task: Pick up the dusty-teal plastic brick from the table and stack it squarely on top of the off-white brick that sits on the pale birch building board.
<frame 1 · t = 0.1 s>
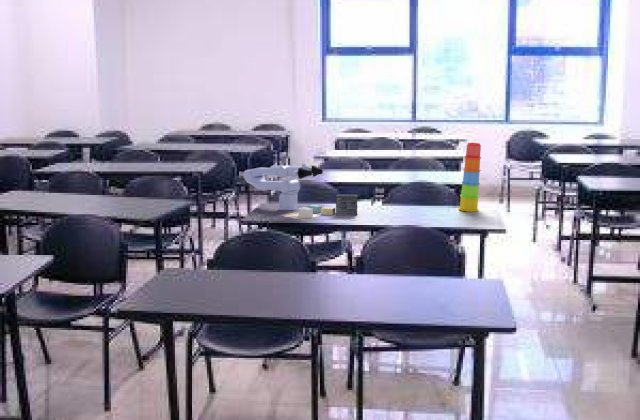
hand: (316, 172, 363), 22 cm above the table, tool horizontal, fingers open, 7 cm apart
small box: (346, 216, 365), on the table
mustard brick: (328, 215, 366), on the table
teal brick: (315, 213, 372), on the table
building board: (301, 217, 362), on the table
white brick: (305, 216, 360), point 1 cm above the table, touching building board
stacking cups: (468, 210, 378), on the table
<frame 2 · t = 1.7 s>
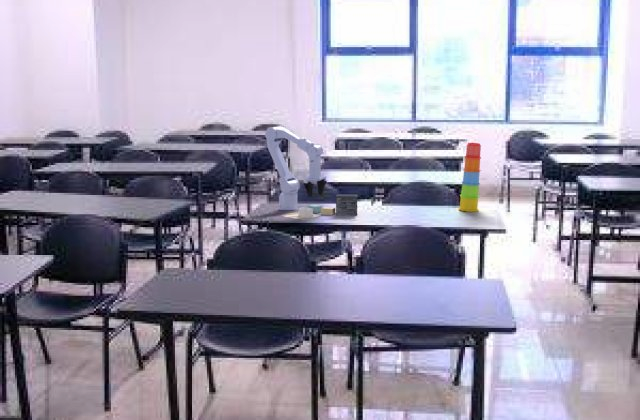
hand: (315, 195, 370), 9 cm above the table, tool pointing down, fingers open, 7 cm apart
nothing on the table moved.
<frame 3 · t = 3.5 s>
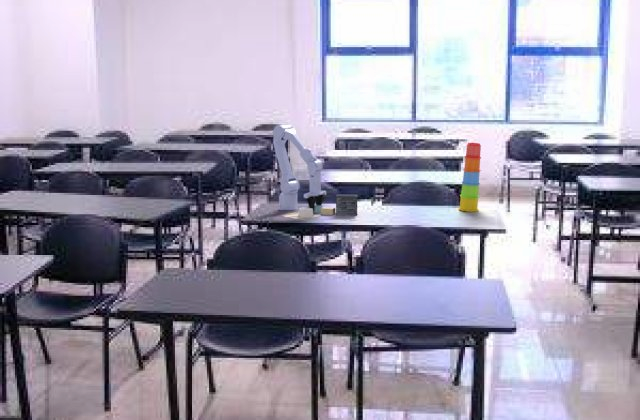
hand: (315, 210, 371), 1 cm above the table, tool pointing down, fingers closed on teal brick, 4 cm apart
teal brick: (315, 213, 372), on the table, touching gripper
everything else where it was.
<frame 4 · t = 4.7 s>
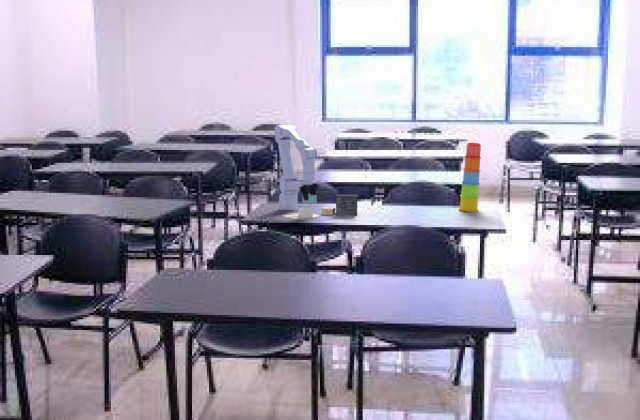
hand: (309, 199, 362), 9 cm above the table, tool pointing down, fingers closed on teal brick, 4 cm apart
teal brick: (309, 203, 362), point 7 cm above the table, touching gripper
everything else where it was.
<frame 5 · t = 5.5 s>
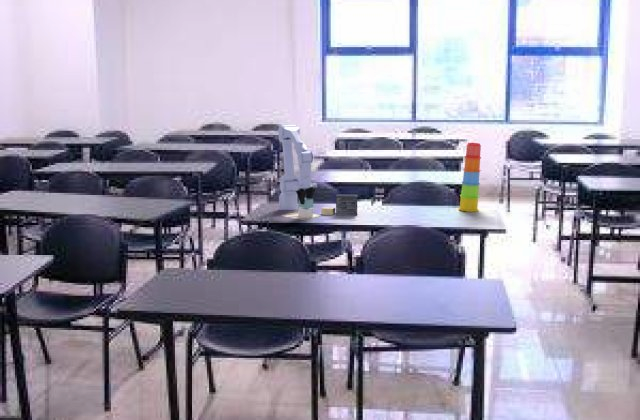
hand: (305, 203, 358), 7 cm above the table, tool pointing down, fingers closed on teal brick, 4 cm apart
teal brick: (306, 207, 359), point 6 cm above the table, touching gripper
everything else where it was.
when the fingers open (7 cm above the table, at t = 6.1 s): teal brick stays where it is, resting on white brick.
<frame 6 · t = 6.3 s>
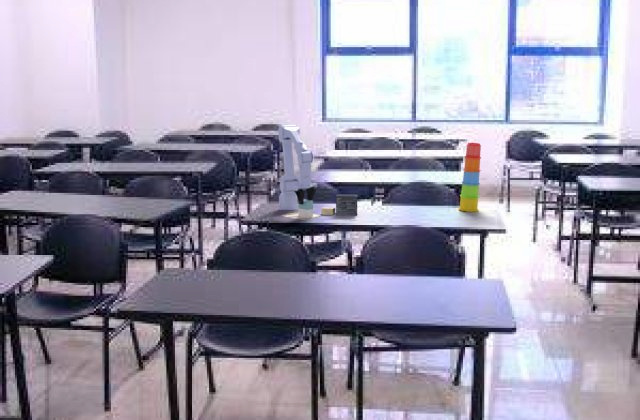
hand: (305, 203, 358), 7 cm above the table, tool pointing down, fingers open, 5 cm apart
teal brick: (305, 208, 359), point 5 cm above the table, touching white brick
white brick: (305, 216, 360), point 1 cm above the table, touching building board, teal brick
everything else where it was.
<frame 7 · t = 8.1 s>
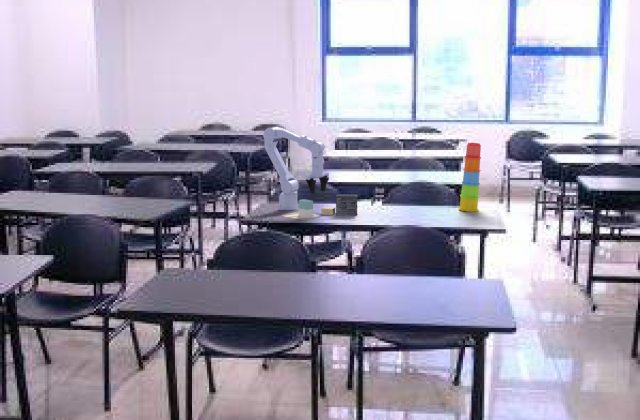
hand: (317, 192, 372), 10 cm above the table, tool pointing down, fingers open, 7 cm apart
nothing on the table moved.
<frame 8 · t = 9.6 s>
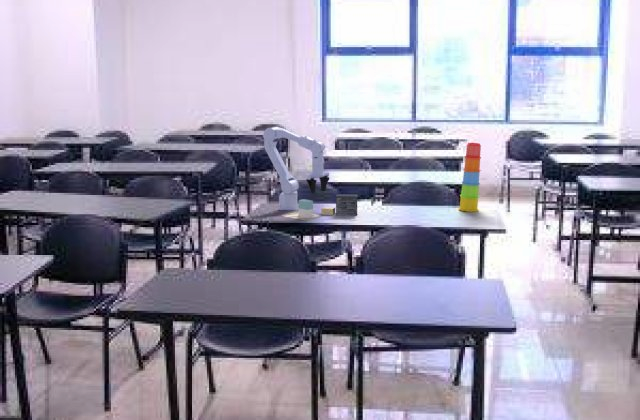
hand: (318, 191, 372), 10 cm above the table, tool pointing down, fingers open, 7 cm apart
nothing on the table moved.
at the end: teal brick 0.2 cm off-centre on the white brick, point 4.0 cm above the white brick's base; teal brick tilted 0°; white brick moved 0.0 cm from its start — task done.
